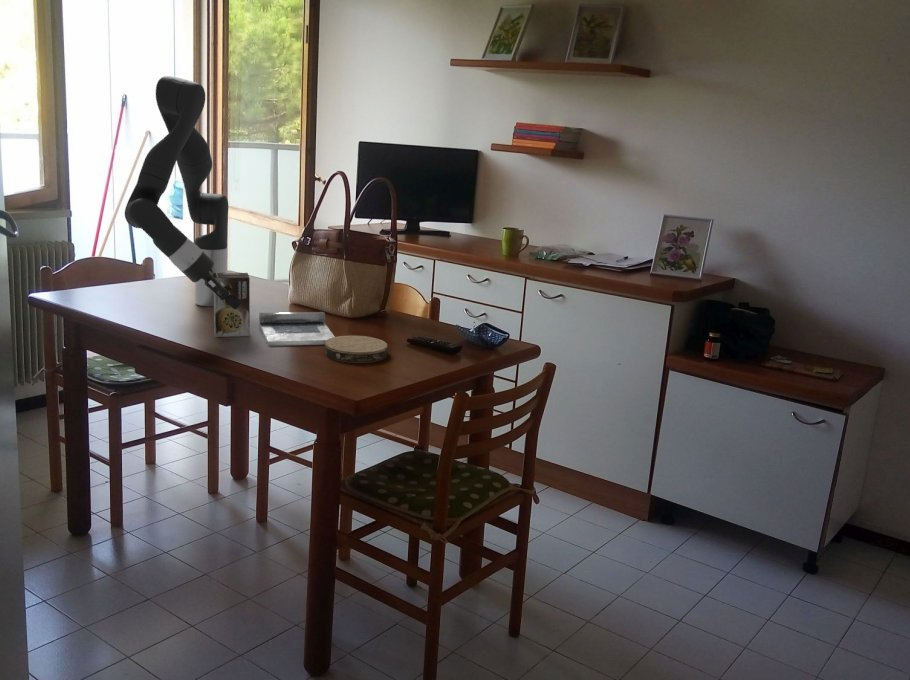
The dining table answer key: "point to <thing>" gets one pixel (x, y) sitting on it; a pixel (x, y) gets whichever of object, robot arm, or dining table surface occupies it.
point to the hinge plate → (294, 328)
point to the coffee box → (224, 315)
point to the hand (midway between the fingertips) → (236, 303)
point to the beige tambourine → (355, 349)
